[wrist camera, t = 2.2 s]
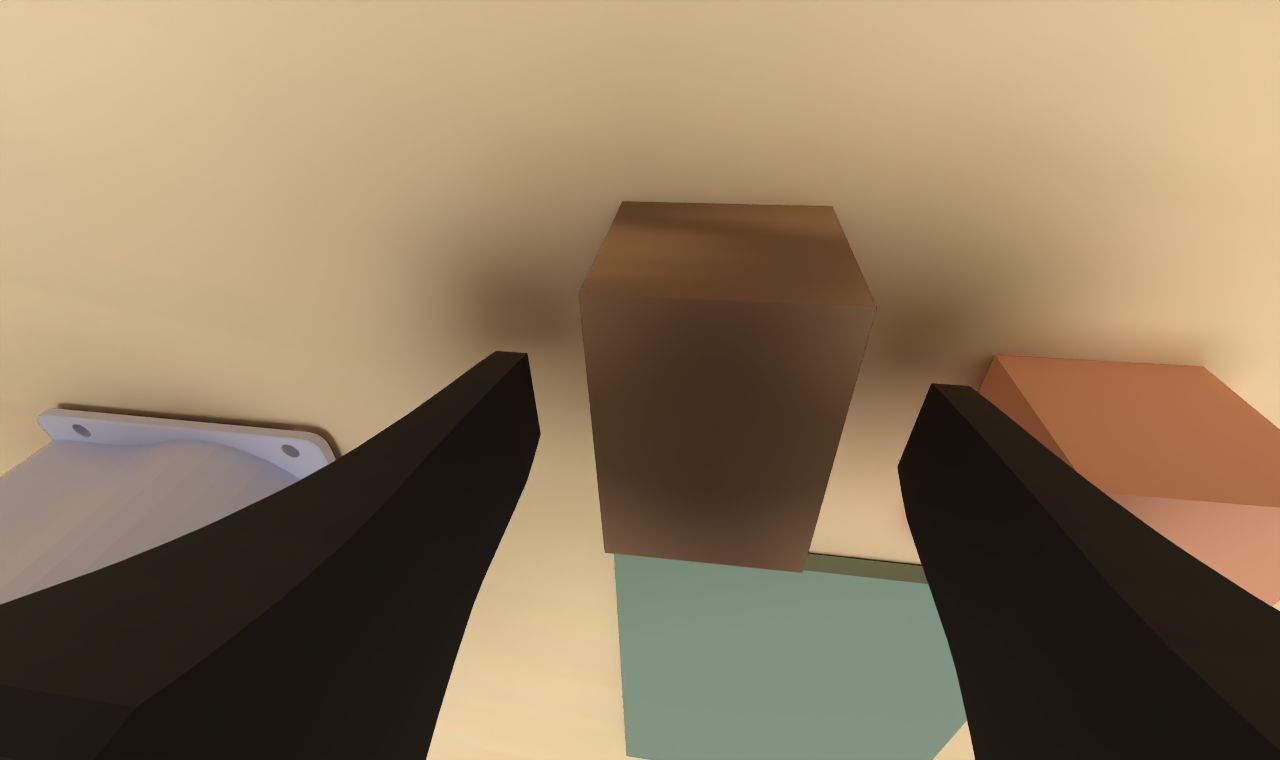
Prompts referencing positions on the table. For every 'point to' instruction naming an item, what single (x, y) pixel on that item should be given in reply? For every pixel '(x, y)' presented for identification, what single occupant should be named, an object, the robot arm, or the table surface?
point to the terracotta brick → (1160, 452)
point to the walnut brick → (720, 377)
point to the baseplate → (783, 661)
